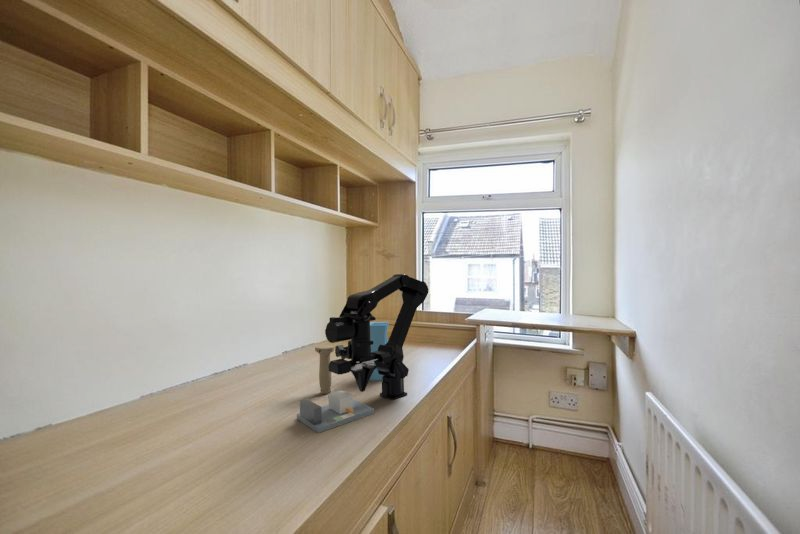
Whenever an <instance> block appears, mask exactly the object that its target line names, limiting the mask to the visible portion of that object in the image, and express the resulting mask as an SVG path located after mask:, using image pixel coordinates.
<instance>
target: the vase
mask: <svg viewBox="0 0 800 534" xmlns="http://www.w3.org/2000/svg"><path fill="white" fill-rule="evenodd" d="M389 324H390V323H389V321H378V322H377V321H375V322H373V321H370V339H371V340H372V341H373V344H372V345H371V352H375V351H378V347H379V345H385V344H386V343H387V342H388V328H389ZM374 366H375V363H374ZM382 376H384V375H379V373H378V370H377V368H376V369H374V371H373V373H372V375H371V377H370V379H369V381H383V380H382Z"/></svg>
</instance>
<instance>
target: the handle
mask: <svg viewBox="0 0 800 534" xmlns="http://www.w3.org/2000/svg"><path fill="white" fill-rule="evenodd" d="M314 350H315V352H316V353H318V354H319V367H318V368H319V371H318V373H319V374H318V375H319V378H318V379H319V381H318V382H319V388H320V389H319V390H320V393H321V394H322V395H328V394H329V393H332V389H331V387H332V372H330V371H329V366H328V365H329V363H330V361H331V353H333V352H334V351H335V345H330V344H329V345H328V344H327V345H325V344H323V345H317V346H314Z"/></svg>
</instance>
